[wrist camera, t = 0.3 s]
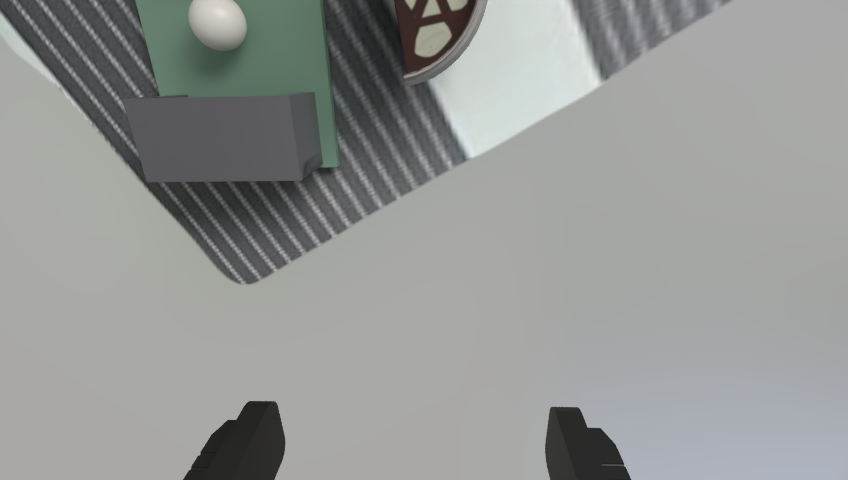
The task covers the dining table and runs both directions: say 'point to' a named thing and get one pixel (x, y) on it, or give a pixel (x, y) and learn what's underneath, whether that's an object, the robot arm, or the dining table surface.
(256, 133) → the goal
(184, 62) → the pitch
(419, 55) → the food container
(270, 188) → the dining table surface
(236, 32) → the ball
